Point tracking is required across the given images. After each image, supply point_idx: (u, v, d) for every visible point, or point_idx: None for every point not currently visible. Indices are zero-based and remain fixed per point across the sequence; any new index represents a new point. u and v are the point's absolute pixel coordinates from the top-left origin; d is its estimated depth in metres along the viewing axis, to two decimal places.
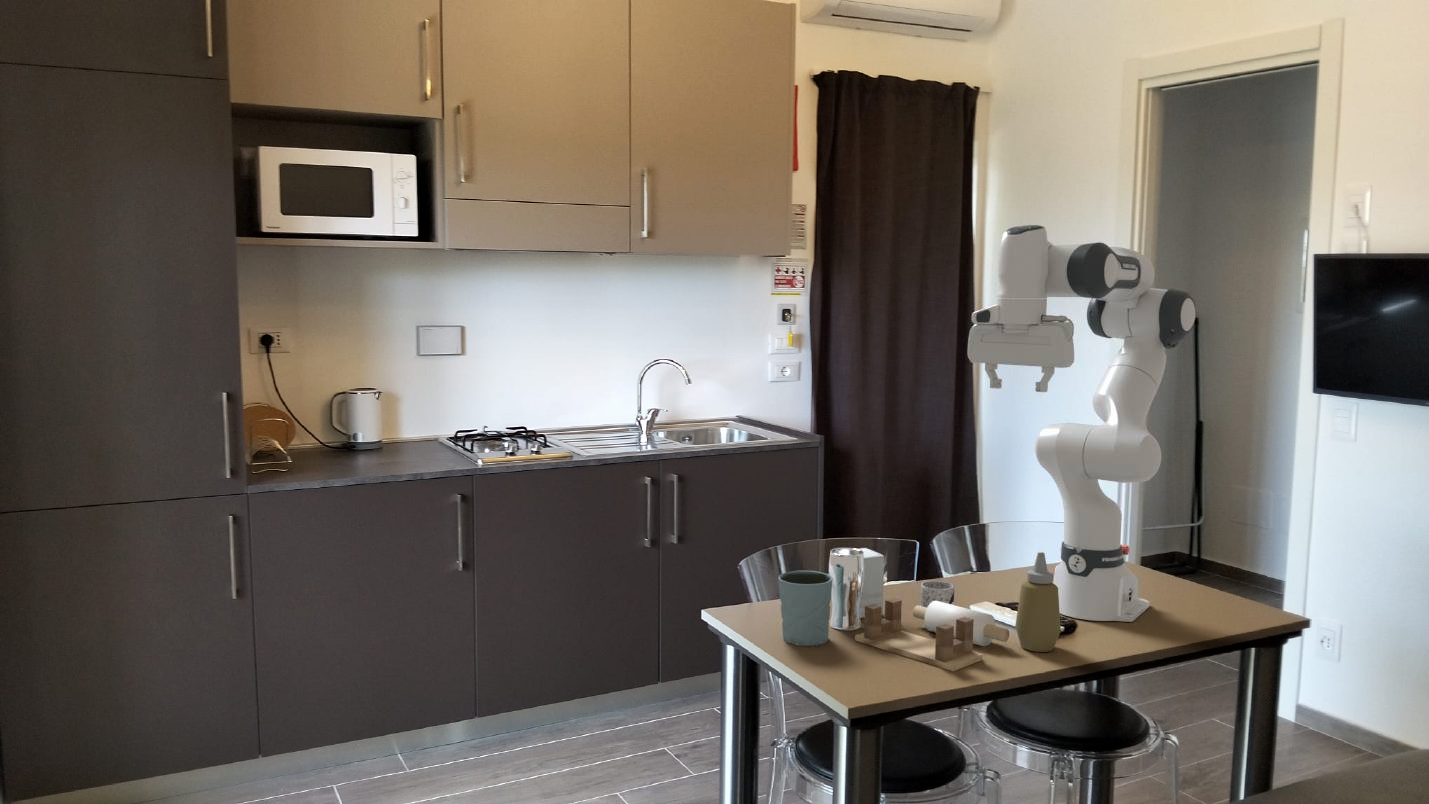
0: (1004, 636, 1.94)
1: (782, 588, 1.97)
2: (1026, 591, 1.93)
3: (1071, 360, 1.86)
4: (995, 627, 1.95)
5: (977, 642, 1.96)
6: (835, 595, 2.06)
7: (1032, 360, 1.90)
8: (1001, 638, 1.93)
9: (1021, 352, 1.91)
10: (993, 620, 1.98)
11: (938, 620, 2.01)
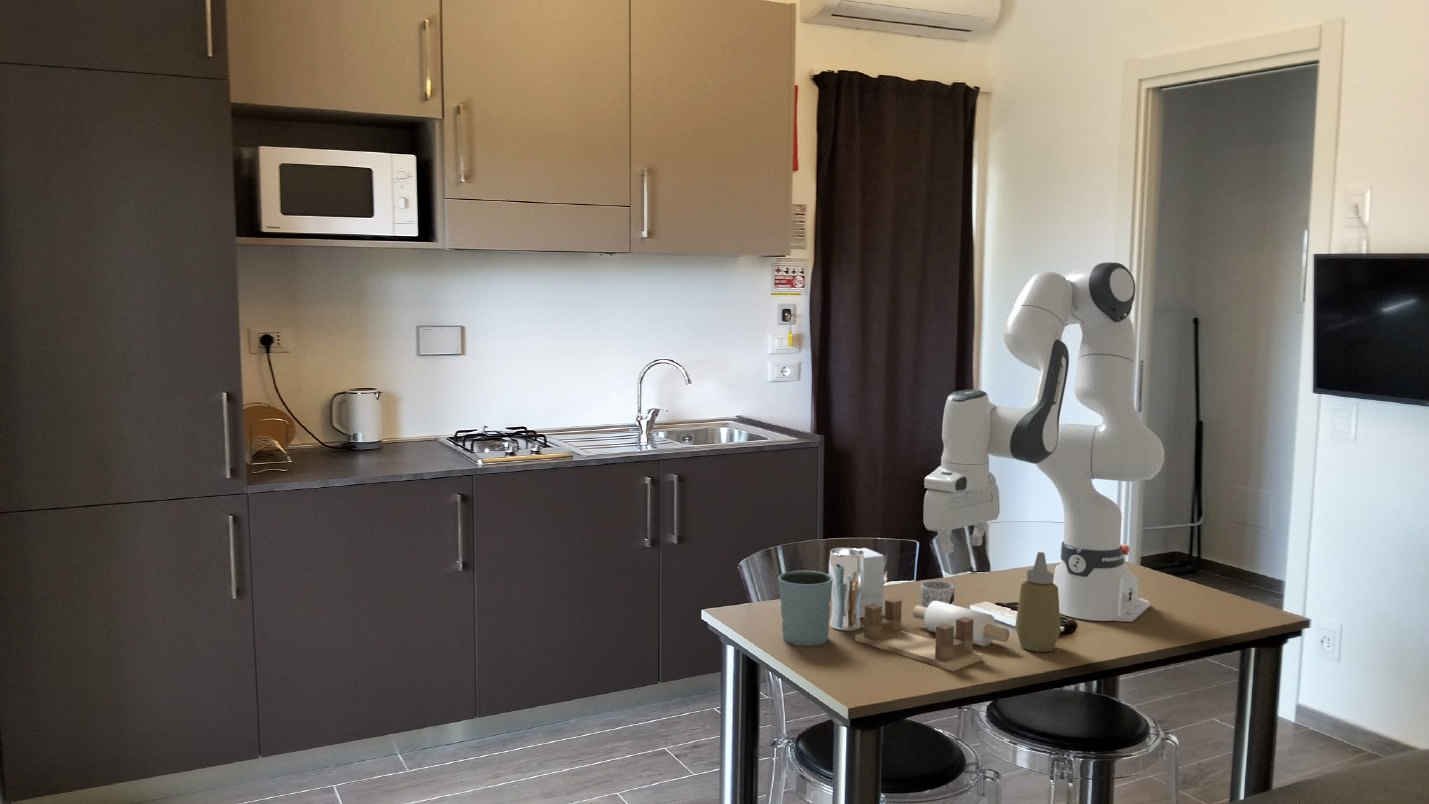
0: (1004, 636, 1.94)
1: (782, 588, 1.97)
2: (1026, 591, 1.93)
3: None
4: (995, 627, 1.95)
5: (977, 642, 1.96)
6: (835, 595, 2.06)
7: (982, 517, 2.00)
8: (1001, 638, 1.93)
9: (976, 512, 1.99)
10: (993, 620, 1.98)
11: (938, 620, 2.01)
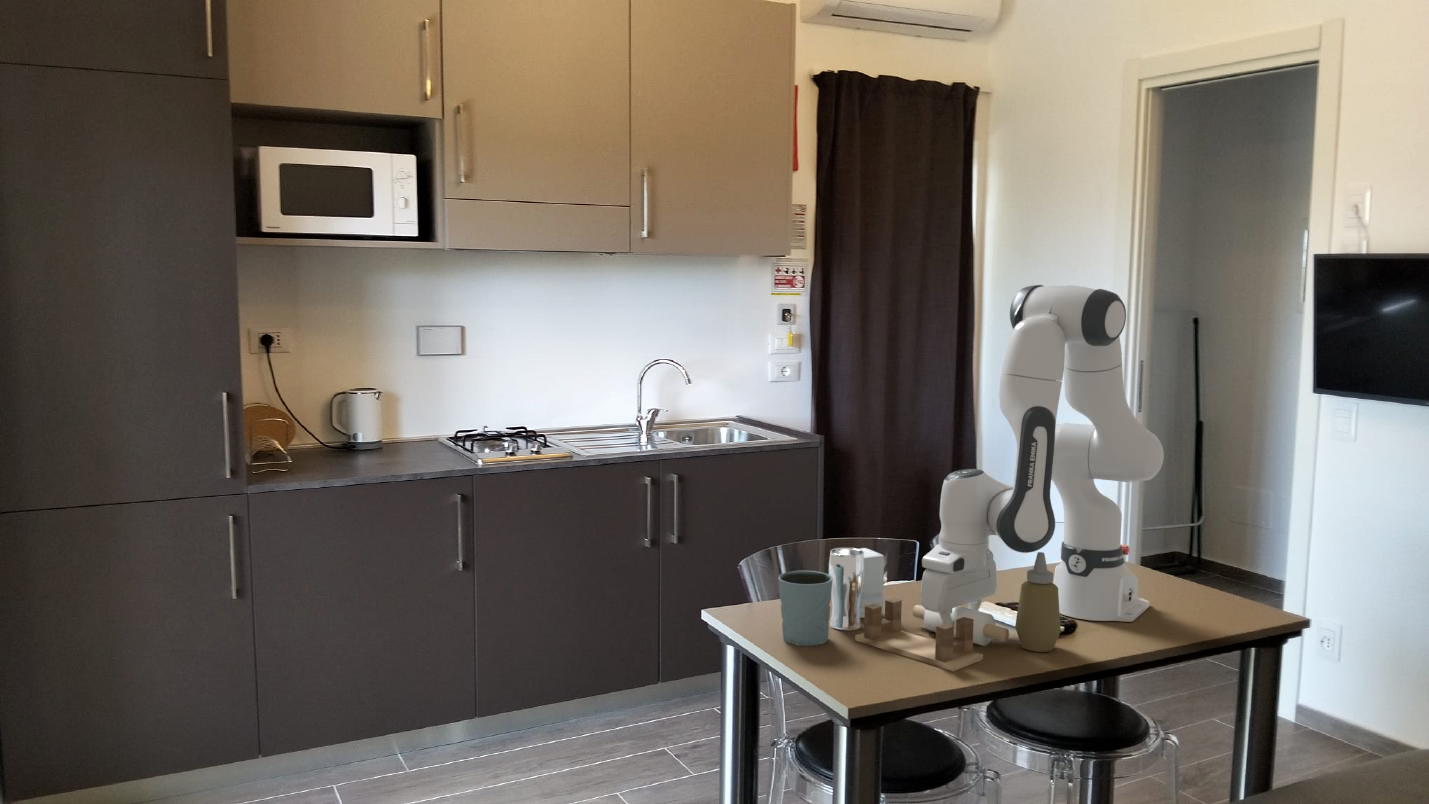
0: (1004, 635, 1.94)
1: (782, 588, 1.97)
2: (1026, 591, 1.93)
3: None
4: (994, 626, 1.95)
5: (977, 642, 1.96)
6: (835, 595, 2.06)
7: (979, 594, 2.02)
8: (1001, 638, 1.93)
9: (973, 590, 2.00)
10: (992, 619, 1.98)
11: (938, 620, 2.01)
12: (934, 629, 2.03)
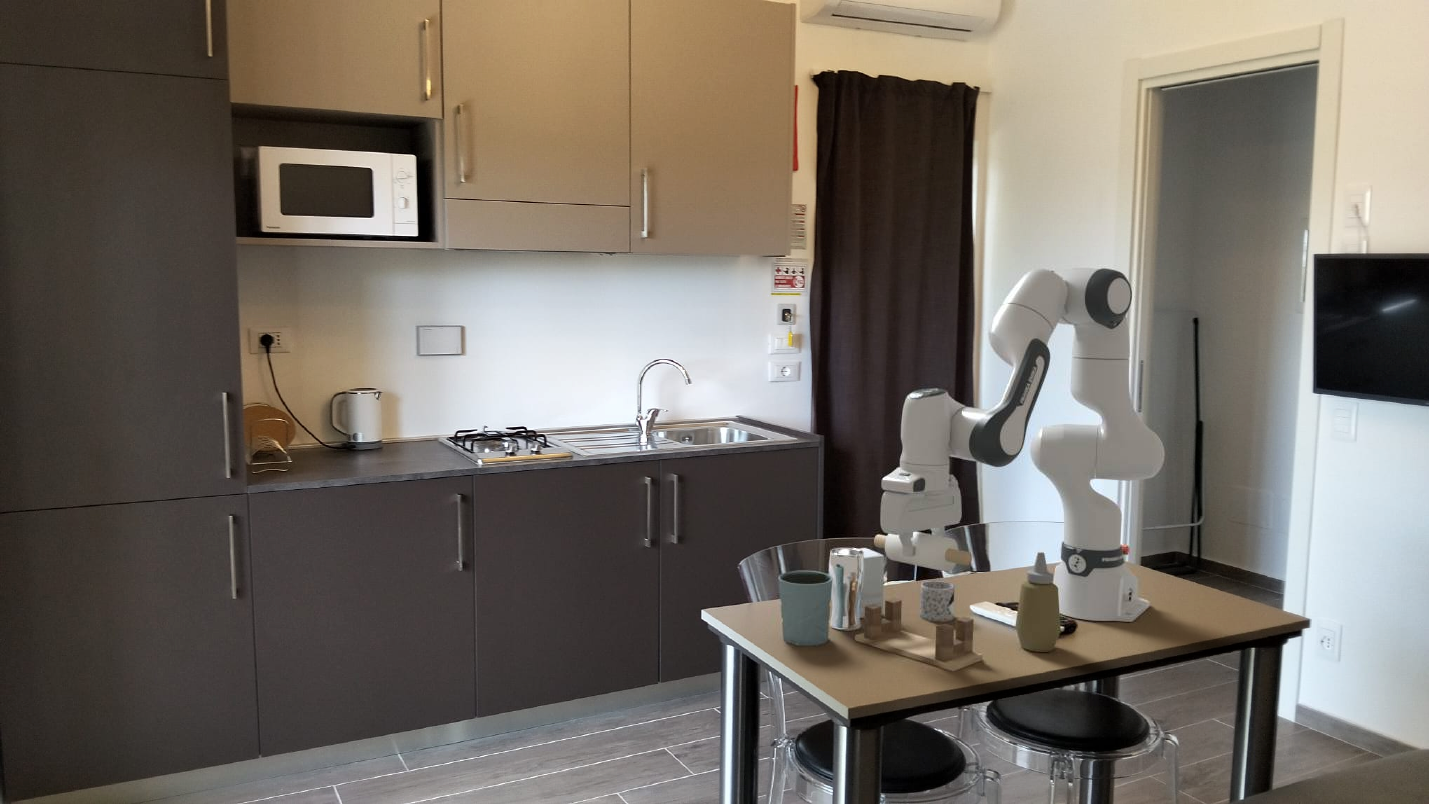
0: (966, 559, 1.85)
1: (782, 588, 1.97)
2: (1026, 591, 1.93)
3: None
4: (957, 550, 1.87)
5: (938, 567, 1.87)
6: (835, 595, 2.06)
7: (942, 521, 1.93)
8: (963, 561, 1.85)
9: (935, 515, 1.92)
10: (955, 545, 1.90)
11: (899, 546, 1.93)
12: (895, 557, 1.94)
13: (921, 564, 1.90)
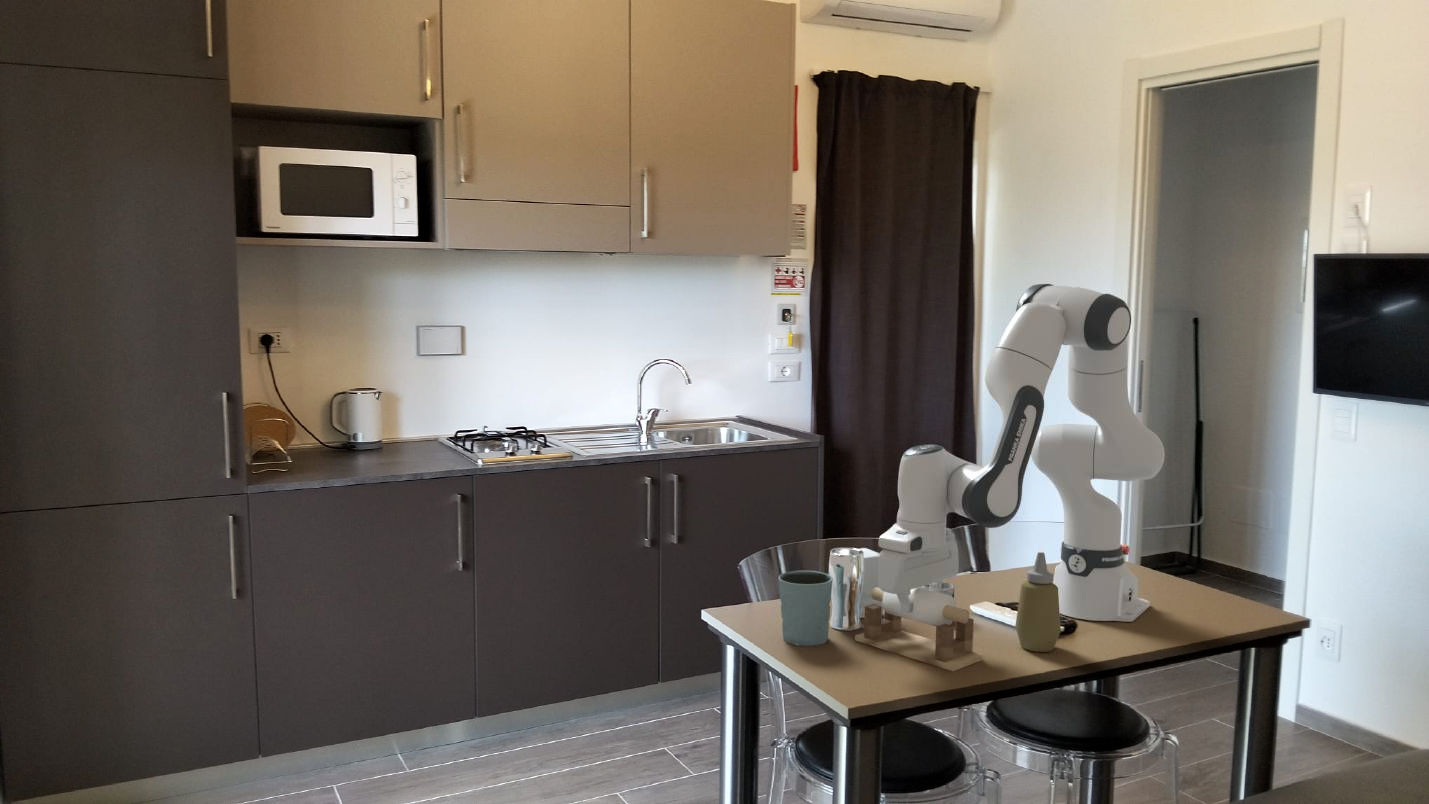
0: (963, 617, 1.86)
1: (782, 588, 1.97)
2: (1026, 591, 1.94)
3: None
4: (954, 608, 1.87)
5: (936, 624, 1.88)
6: (835, 595, 2.06)
7: (939, 576, 1.94)
8: (960, 619, 1.85)
9: (933, 571, 1.92)
10: (953, 601, 1.90)
11: (896, 602, 1.93)
12: (893, 612, 1.95)
13: (918, 620, 1.91)
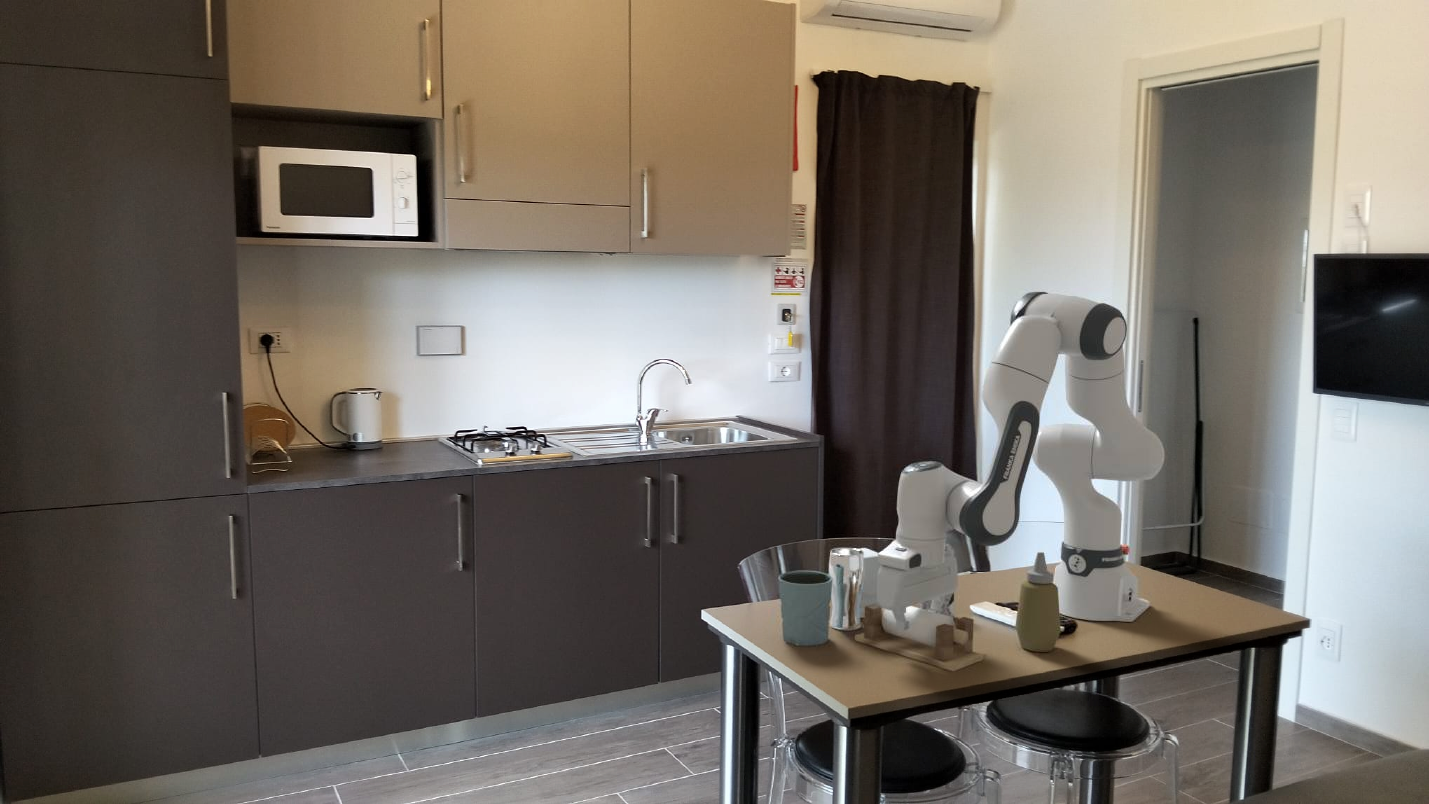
0: (962, 639, 1.86)
1: (782, 588, 1.97)
2: (1026, 591, 1.94)
3: None
4: None
5: None
6: (835, 595, 2.06)
7: (939, 592, 1.94)
8: (959, 641, 1.86)
9: (932, 587, 1.93)
10: (952, 622, 1.91)
11: None
12: (892, 631, 1.95)
13: (918, 640, 1.91)
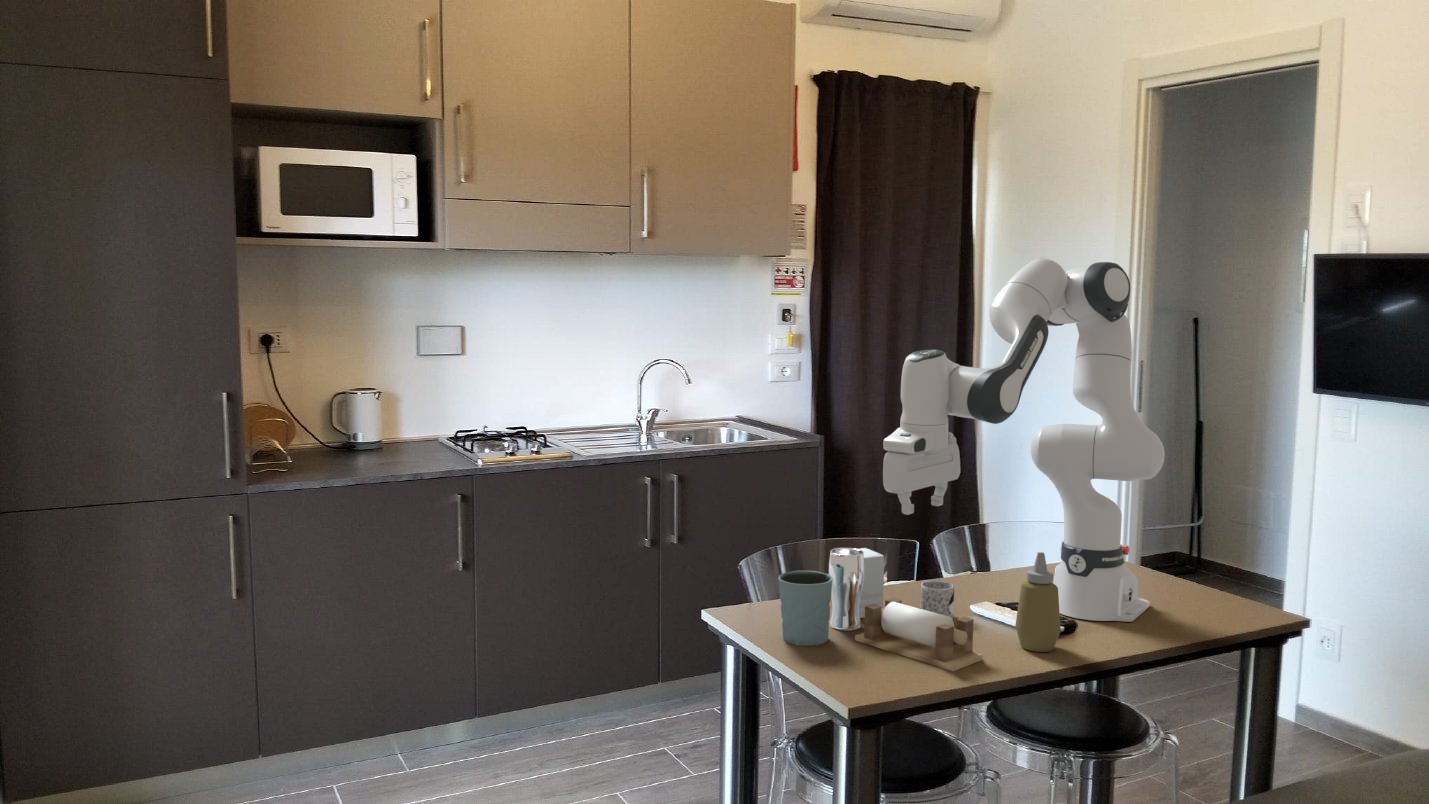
0: (962, 639, 1.86)
1: (782, 588, 1.97)
2: (1026, 591, 1.93)
3: None
4: None
5: None
6: (835, 595, 2.06)
7: (942, 477, 2.00)
8: (959, 642, 1.86)
9: (936, 473, 1.98)
10: (950, 621, 1.90)
11: (895, 625, 1.94)
12: (892, 633, 1.95)
13: (918, 642, 1.92)
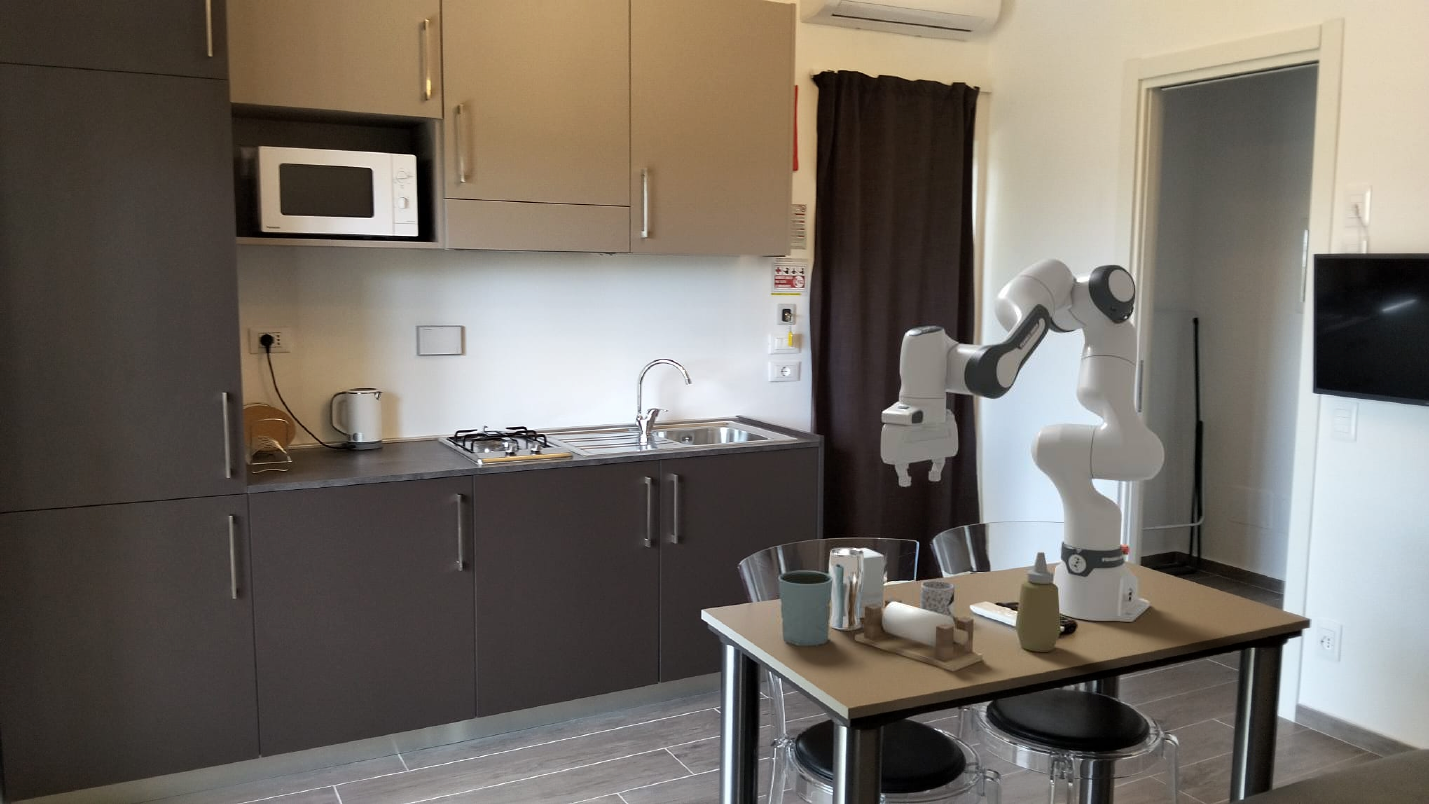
0: (962, 638, 1.86)
1: (782, 588, 1.97)
2: (1026, 591, 1.94)
3: None
4: None
5: None
6: (834, 595, 2.06)
7: (940, 452, 2.03)
8: (959, 641, 1.86)
9: (933, 447, 2.02)
10: (952, 622, 1.91)
11: (896, 622, 1.94)
12: (892, 631, 1.95)
13: (918, 640, 1.91)
